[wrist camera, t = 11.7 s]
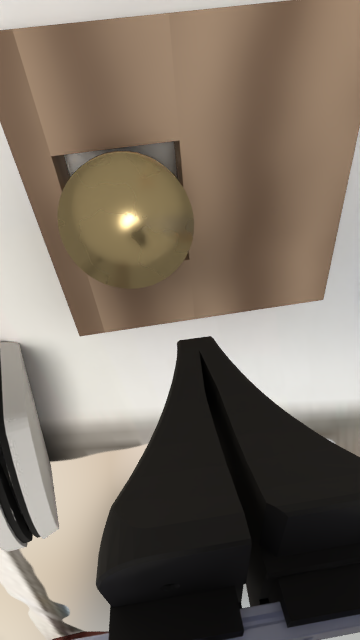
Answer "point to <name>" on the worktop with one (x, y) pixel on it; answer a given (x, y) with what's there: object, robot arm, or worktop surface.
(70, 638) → the bucket
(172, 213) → the bushing
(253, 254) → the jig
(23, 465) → the grey piece
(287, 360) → the worktop surface
